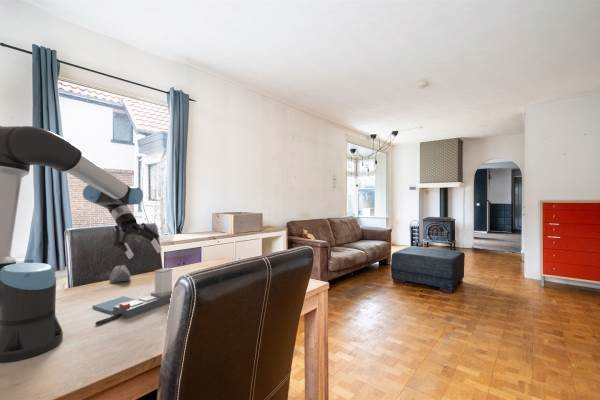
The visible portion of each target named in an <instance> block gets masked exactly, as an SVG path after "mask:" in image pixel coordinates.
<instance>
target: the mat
mask: <svg viewBox="0 0 600 400" xmlns="http://www.w3.org/2000/svg"><path fill="white" fill-rule="evenodd" d="M135 299H136V298H133V297H129V296H128V297H127V296H120V297H117V298H114V299H110V300H107V301H105V302H101V303H97V304H93V305H92V309H94V310H97V311H100V312H103V313H106V314H111V315H113V306H116V305H119V304H120V303H123V302H128V301H132V300H135Z"/></svg>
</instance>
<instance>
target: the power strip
mask: <svg viewBox="0 0 600 400" xmlns="http://www.w3.org/2000/svg"><path fill="white" fill-rule="evenodd" d="M172 290H173V288H172ZM171 294H172V291H169V292H166V293H163V294H158V293H155V290H154V291H152V292H151V291H150V294H147V295H144V296H141V297H137V298H134V299H135V300H132V301H128V302H123V303H120V304H119V305H116V306H113V314H112V316H109V317H106V318H103V319H100V320H98V321H97V320H96V321H95V325H96V326H99V325H103V324H105V323H107V322H111V321H113V320H115V319H116V320H117V319H118V318H123V319H130V318H132V317H136V316H139V315H140V314H141V315H142V314H144V313H147V312H149V311H151V310H153V309H154V310H155V309H156V308H159V307H162V306H164V305H167V304H170V303H171V302H170V298H171Z"/></svg>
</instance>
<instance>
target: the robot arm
mask: <svg viewBox="0 0 600 400" xmlns="http://www.w3.org/2000/svg"><path fill="white" fill-rule="evenodd" d="M31 166H42V167H46V168H47V167H48V168H52V169H54V170H55V171H57V172H59V173H61V172H62V173H65V172H66V173H68V174H69V175H70V176H73V177H74V178H77V179H78V180H80V181H81V182H84V183H85V184H86V186H85V187H84V188H83V191H82V198H84V200H86V201H88V202H89V203H93V204H95V205H98V206H100V207H102V208H105V209H106V210H107V211H108V213H110V215H111V217H112V219H113V221H114V222H115V224H116V225H115V226H114V227H113V229H112V230H113V247H117V248H118V249H121V251H122V253H124V254H125V255H126V257H127V258H128V260H131V259H132V258H133V257H134V255H135V254H134V253H133V251H132V249H131V248H130V246H129V244H128V243H127V242H125V241H126V239H127V237H128V236H132V235H133V236H134V235H137V236H141V237H143V238H145V239H146V240H149V241H150V243H151V245H152V246H153V249H154V250H155V251H156V253H157V254H160V253H161V252H162V250H163V248H162V247H161V245H160V242H159V240H158V239H159V238H160V235H159V234H158V233H156V232H155V230H152V229H151V228H150V227H148V226H147V225H146V224H145V223H144V222H142V223H140V224H139V223H138V222H137V219H136V217H135V215H134V214H133V212H132V211H131V209H130V207H128V205H130V206H132V205H140V204H141V203H142V202H143V198H144V193H143V189H141V188H140V187H138V186H130V185H128V184H126V183H125V182H124V181H122V180H121V179H119V178H117V177H116V176H115V175H113V174H112V173H110V172H109V171H107V170H106V169H104V168H103V167H102V166H100V165H98V164H97V163H96V162H94V161H92V160H91V159H89V158H88V157H87V156H85V155H84V154H83V152H82V150H81V149H80V148H79V147H78V146H76V145H75V144H73V143H71V142H70V141H69V140H67V139H66V138H64V137H62V136H60V135H58V134H56V133H54V132H52V131H50V130H48V129H44V128H40V127H37V126H31V125H28V126H26V125H23V126H16V125H15V126H3V125H2V126H1V125H0V363H7V362H8V363H9V362H15V361H20V360H25V359H28V358H32V357H35V356H36V357H37V356H38V355H41V354H43V353H47V352H49V351H51V350H53V349H54V348H56V347H58V346H59V345H60V344H61V343H62V341H63V340H64V335H63V334H64V331H63V329H62V326H61V325H60V322H59V320H58V318H57V316H56V297H57V296H56V294H57V292H56V291H57V276H56V270H55V267H54V266H52V265H50V264H48V263H43V262H19V263H17V260H16V259H15V258H14V257H13V256H11V255H12V254H11V253H12V246H13V239H14V232H15V226H16V219H17V211H18V205H19V199H20V198H19V197H20V191H21V185H22V179H23V178H24V177H26V176H27V175H29V174H30V169H31ZM120 232H123V234H122V237H121V239H120Z"/></svg>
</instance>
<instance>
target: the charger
mask: <svg viewBox="0 0 600 400" xmlns="http://www.w3.org/2000/svg"><path fill="white" fill-rule="evenodd" d="M172 289H173V269H172V268H168V267H163V268H159V269H156V270H154V291H155V293H158V294H163V293H166V292H169V291H172Z"/></svg>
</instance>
